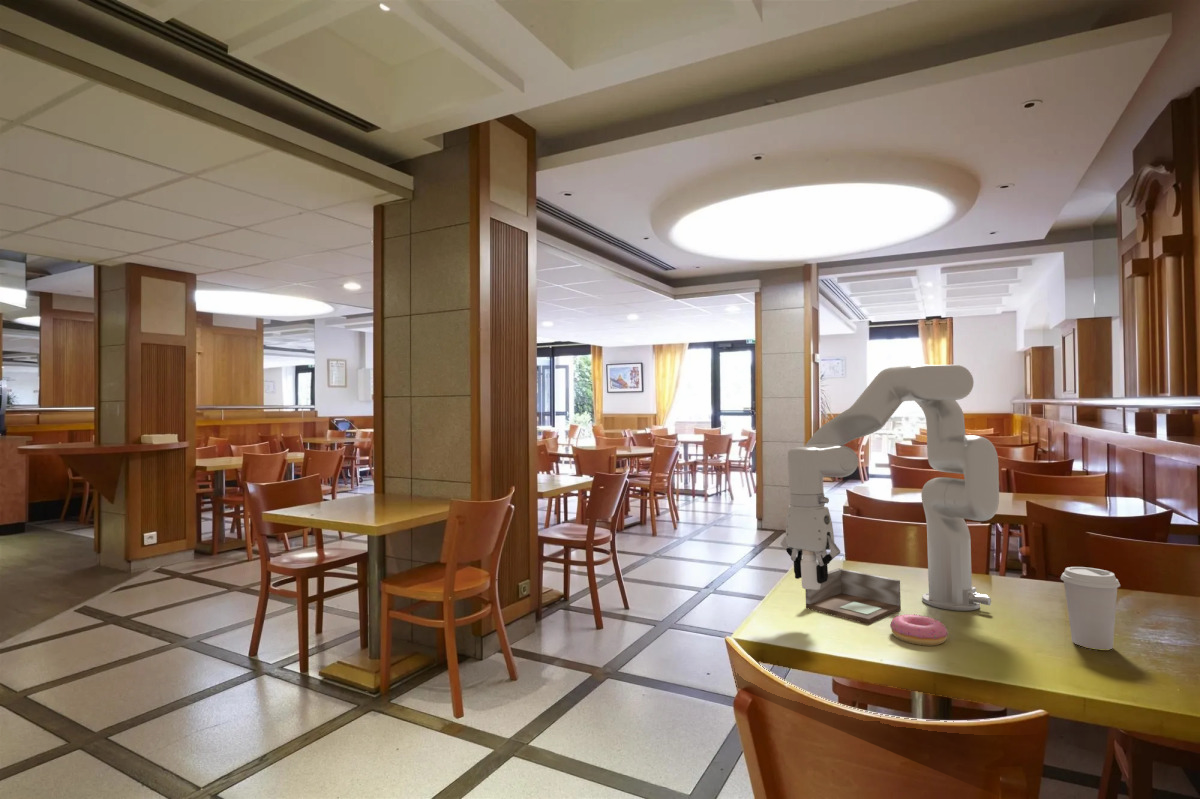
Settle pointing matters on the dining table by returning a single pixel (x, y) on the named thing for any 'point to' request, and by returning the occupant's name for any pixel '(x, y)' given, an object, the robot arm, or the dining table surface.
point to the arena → (856, 596)
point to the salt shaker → (809, 570)
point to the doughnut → (919, 629)
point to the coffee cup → (1091, 605)
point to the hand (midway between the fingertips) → (811, 578)
